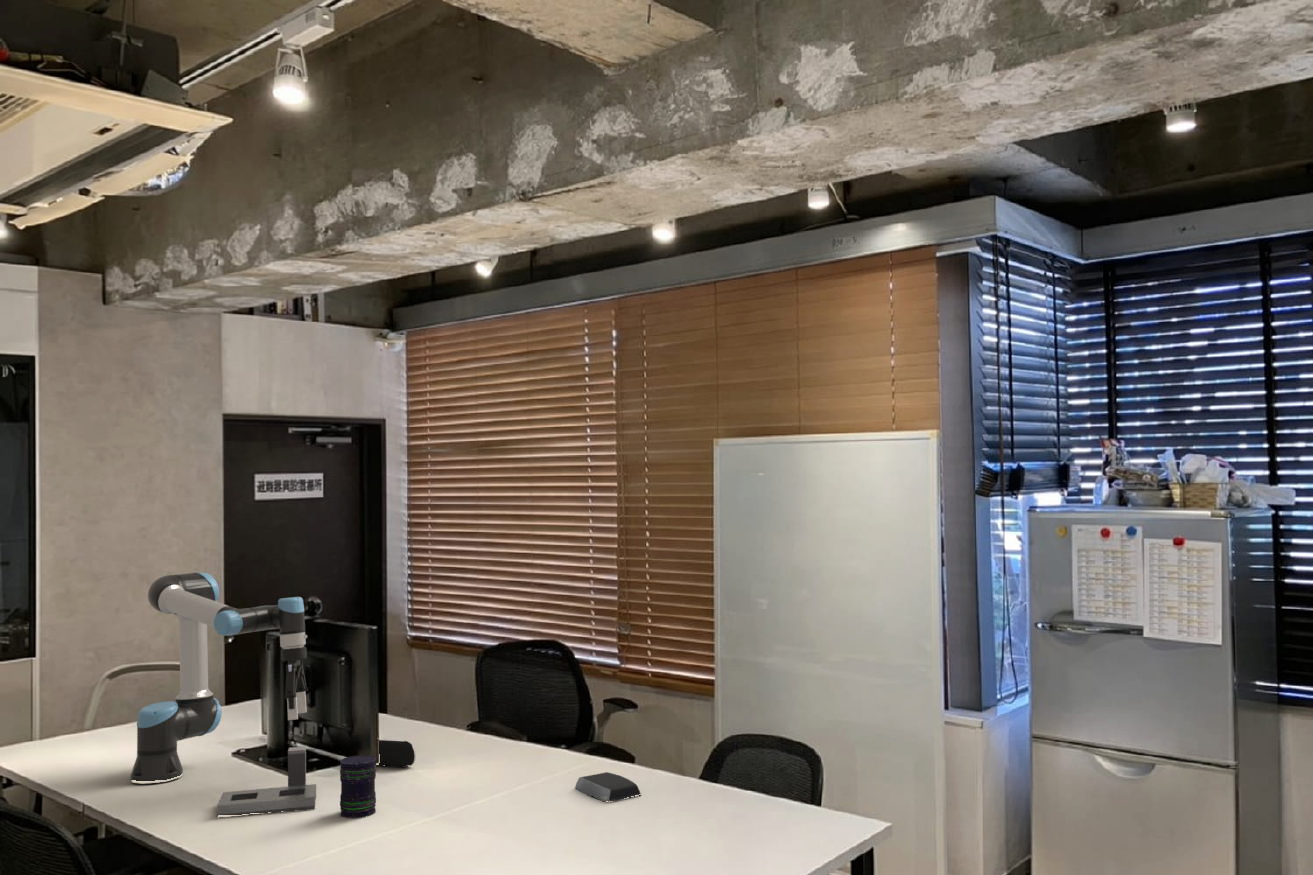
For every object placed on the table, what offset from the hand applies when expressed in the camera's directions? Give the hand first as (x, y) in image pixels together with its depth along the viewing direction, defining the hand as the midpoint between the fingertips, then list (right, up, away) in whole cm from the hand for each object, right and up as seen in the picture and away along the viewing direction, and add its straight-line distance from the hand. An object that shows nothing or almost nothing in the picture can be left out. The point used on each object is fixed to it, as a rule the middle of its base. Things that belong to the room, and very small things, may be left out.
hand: (297, 716), depth 324 cm
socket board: (-1, -21, -21) cm, 30 cm away
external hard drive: (+97, -20, -12) cm, 100 cm away
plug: (0, -22, -2) cm, 22 cm away
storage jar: (+27, -20, -29) cm, 44 cm away
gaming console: (+23, -23, +22) cm, 39 cm away
